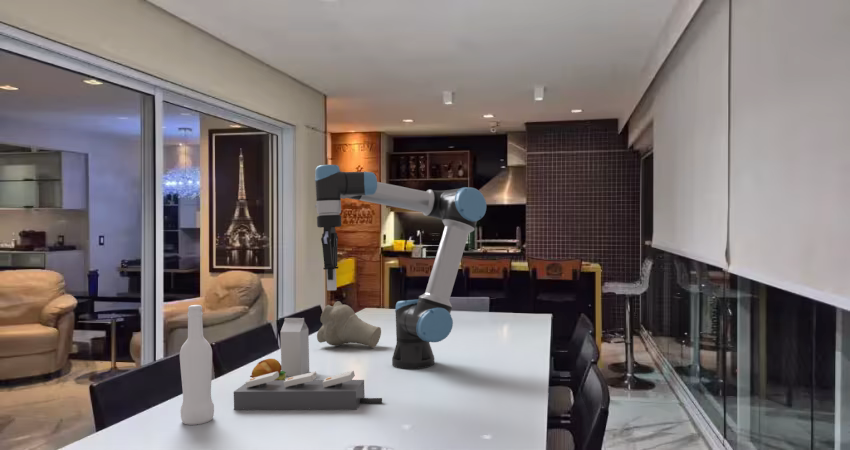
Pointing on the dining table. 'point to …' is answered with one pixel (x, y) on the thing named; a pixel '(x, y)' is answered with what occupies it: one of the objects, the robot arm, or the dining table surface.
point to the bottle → (196, 372)
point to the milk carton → (294, 347)
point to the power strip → (302, 396)
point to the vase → (346, 327)
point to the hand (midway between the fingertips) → (331, 290)
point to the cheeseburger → (268, 369)
